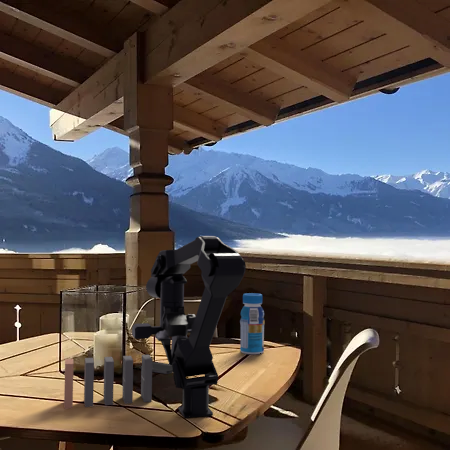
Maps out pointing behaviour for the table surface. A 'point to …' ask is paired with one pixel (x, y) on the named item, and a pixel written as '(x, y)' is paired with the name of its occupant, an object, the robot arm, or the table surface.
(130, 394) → the domino
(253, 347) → the beverage bottle
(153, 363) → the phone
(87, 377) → the domino
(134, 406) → the table surface
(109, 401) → the domino
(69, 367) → the domino
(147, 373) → the domino
